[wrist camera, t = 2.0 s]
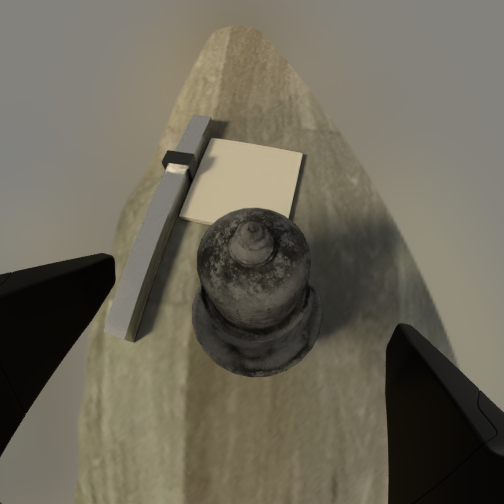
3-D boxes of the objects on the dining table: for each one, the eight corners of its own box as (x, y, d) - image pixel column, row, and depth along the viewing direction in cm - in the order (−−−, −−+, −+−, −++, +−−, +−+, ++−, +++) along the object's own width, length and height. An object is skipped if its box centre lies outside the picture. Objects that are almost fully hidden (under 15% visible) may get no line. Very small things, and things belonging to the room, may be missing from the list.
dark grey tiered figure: (307, 379, 16) (398, 384, 5) (199, 371, 16) (87, 356, 5) (312, 277, 18) (378, 131, 7) (211, 270, 19) (148, 120, 8)
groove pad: (283, 240, 19) (283, 238, 19) (180, 218, 20) (179, 215, 20) (302, 157, 22) (302, 153, 21) (212, 141, 22) (211, 137, 22)
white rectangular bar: (137, 343, 17) (124, 340, 15) (110, 333, 17) (95, 328, 15) (216, 129, 23) (213, 112, 21) (193, 127, 23) (188, 109, 21)
